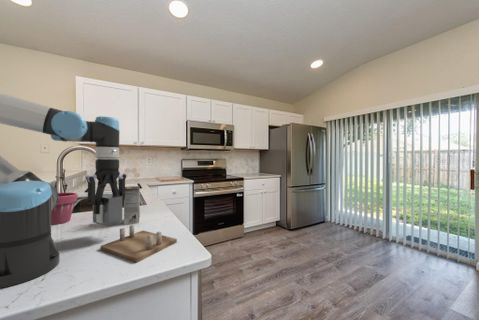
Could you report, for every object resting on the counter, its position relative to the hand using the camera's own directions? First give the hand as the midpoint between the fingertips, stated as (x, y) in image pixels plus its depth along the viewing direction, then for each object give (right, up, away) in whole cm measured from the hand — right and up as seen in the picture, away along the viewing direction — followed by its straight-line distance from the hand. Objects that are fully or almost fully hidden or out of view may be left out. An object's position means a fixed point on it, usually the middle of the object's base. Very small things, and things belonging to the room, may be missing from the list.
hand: (107, 220), depth 76 cm
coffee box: (-1, -7, +20) cm, 21 cm away
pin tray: (+16, -7, -7) cm, 18 cm away
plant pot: (-35, -6, +18) cm, 40 cm away
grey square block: (0, -1, 0) cm, 1 cm away
